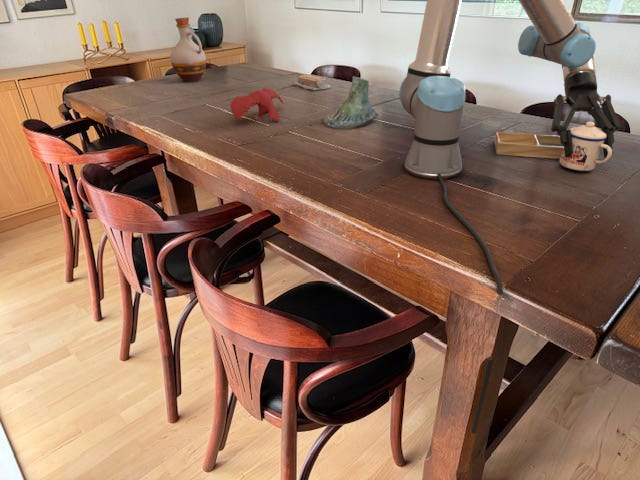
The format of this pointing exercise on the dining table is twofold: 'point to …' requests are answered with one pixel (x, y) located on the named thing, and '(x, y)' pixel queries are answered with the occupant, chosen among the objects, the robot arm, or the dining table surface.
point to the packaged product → (312, 82)
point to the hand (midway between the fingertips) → (588, 155)
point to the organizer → (528, 145)
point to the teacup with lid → (585, 148)
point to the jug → (187, 54)
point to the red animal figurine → (259, 98)
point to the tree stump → (353, 108)
